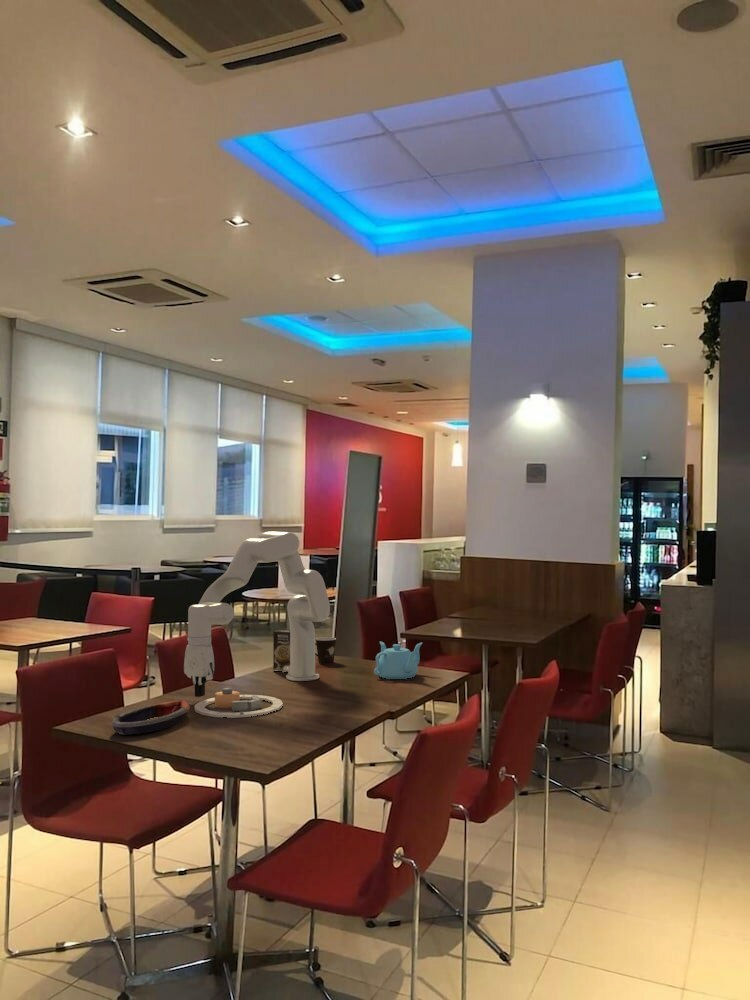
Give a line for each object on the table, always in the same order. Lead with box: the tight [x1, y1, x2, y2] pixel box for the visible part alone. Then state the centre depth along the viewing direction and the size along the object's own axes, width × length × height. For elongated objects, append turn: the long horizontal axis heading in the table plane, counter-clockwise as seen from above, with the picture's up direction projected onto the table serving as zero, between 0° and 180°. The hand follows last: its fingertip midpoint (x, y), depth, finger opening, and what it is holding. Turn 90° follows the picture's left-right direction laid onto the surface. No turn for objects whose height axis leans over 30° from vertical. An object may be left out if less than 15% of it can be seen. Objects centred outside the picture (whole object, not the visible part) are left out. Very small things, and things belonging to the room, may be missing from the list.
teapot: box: [373, 641, 423, 680], centre depth 314 cm, size 17×19×12 cm
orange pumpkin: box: [214, 687, 241, 709], centre depth 268 cm, size 8×8×6 cm
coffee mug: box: [315, 636, 337, 665], centre depth 343 cm, size 12×9×10 cm
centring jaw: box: [231, 694, 262, 713], centre depth 263 cm, size 6×12×3 cm, turn 148°
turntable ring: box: [194, 694, 284, 719], centre depth 265 cm, size 28×28×1 cm
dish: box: [111, 699, 190, 736], centre depth 244 cm, size 16×31×5 cm, turn 153°
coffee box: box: [272, 629, 290, 672], centre depth 326 cm, size 9×6×16 cm
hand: (199, 695), depth 274 cm, fingers closed
